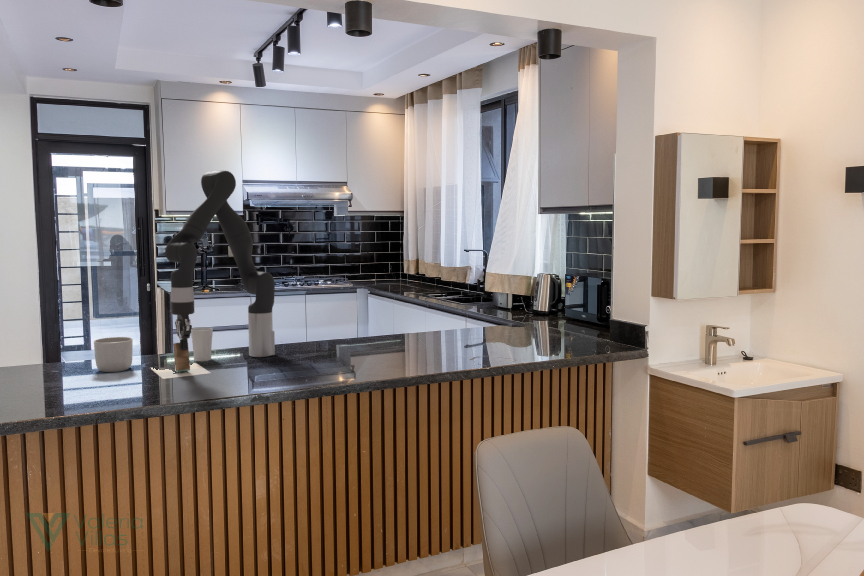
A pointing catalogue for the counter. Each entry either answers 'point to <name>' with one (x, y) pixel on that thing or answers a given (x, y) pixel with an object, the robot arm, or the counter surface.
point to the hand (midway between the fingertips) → (184, 349)
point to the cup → (202, 343)
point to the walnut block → (181, 358)
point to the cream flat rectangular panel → (194, 370)
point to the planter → (113, 353)
